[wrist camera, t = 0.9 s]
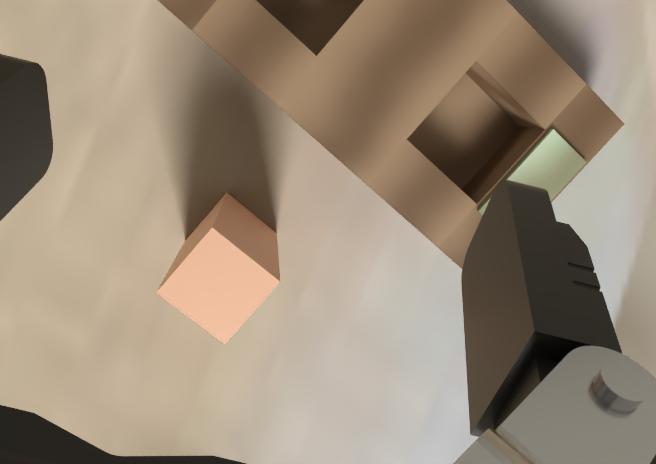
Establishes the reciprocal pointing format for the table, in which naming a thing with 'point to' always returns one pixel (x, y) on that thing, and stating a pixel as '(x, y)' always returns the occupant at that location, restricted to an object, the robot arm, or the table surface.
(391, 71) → the slot holder
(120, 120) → the table surface
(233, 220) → the peg
